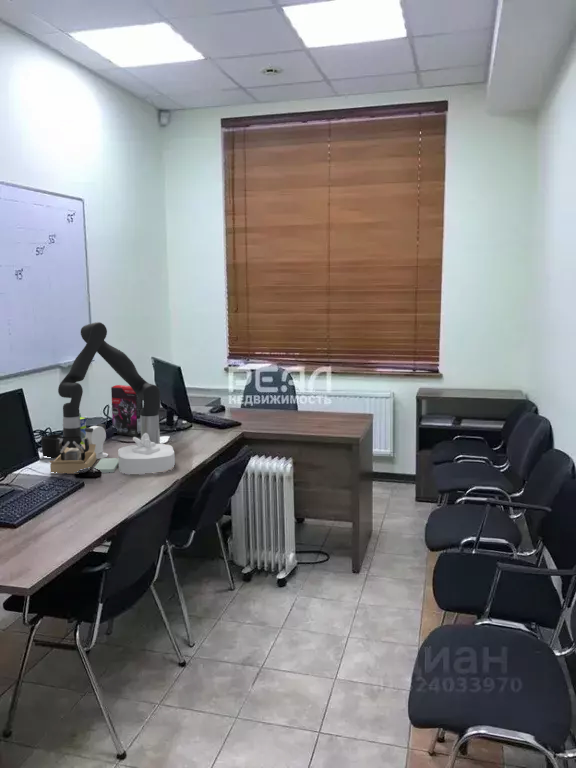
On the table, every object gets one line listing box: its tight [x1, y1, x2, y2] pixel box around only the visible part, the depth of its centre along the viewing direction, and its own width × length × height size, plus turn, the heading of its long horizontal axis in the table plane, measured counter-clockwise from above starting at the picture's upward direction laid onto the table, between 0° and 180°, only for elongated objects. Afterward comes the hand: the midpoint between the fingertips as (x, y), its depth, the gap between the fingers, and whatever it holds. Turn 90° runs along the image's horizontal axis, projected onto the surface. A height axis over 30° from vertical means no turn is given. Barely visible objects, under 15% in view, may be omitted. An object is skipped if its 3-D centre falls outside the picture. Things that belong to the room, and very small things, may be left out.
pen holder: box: [40, 433, 63, 459], centre depth 306 cm, size 9×9×10 cm
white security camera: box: [85, 423, 109, 460], centre depth 307 cm, size 12×11×15 cm
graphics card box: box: [110, 384, 144, 437], centre depth 350 cm, size 17×7×27 cm, turn 68°
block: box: [65, 448, 82, 461], centre depth 288 cm, size 4×13×8 cm, turn 5°
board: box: [94, 457, 119, 474], centre depth 290 cm, size 9×18×2 cm, turn 5°
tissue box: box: [117, 433, 176, 475], centre depth 291 cm, size 25×25×16 cm
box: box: [79, 412, 87, 444], centre depth 320 cm, size 10×4×17 cm, turn 151°
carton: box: [48, 444, 97, 474], centre depth 288 cm, size 16×28×7 cm, turn 5°
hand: (73, 460), depth 288 cm, fingers open, 8 cm apart
